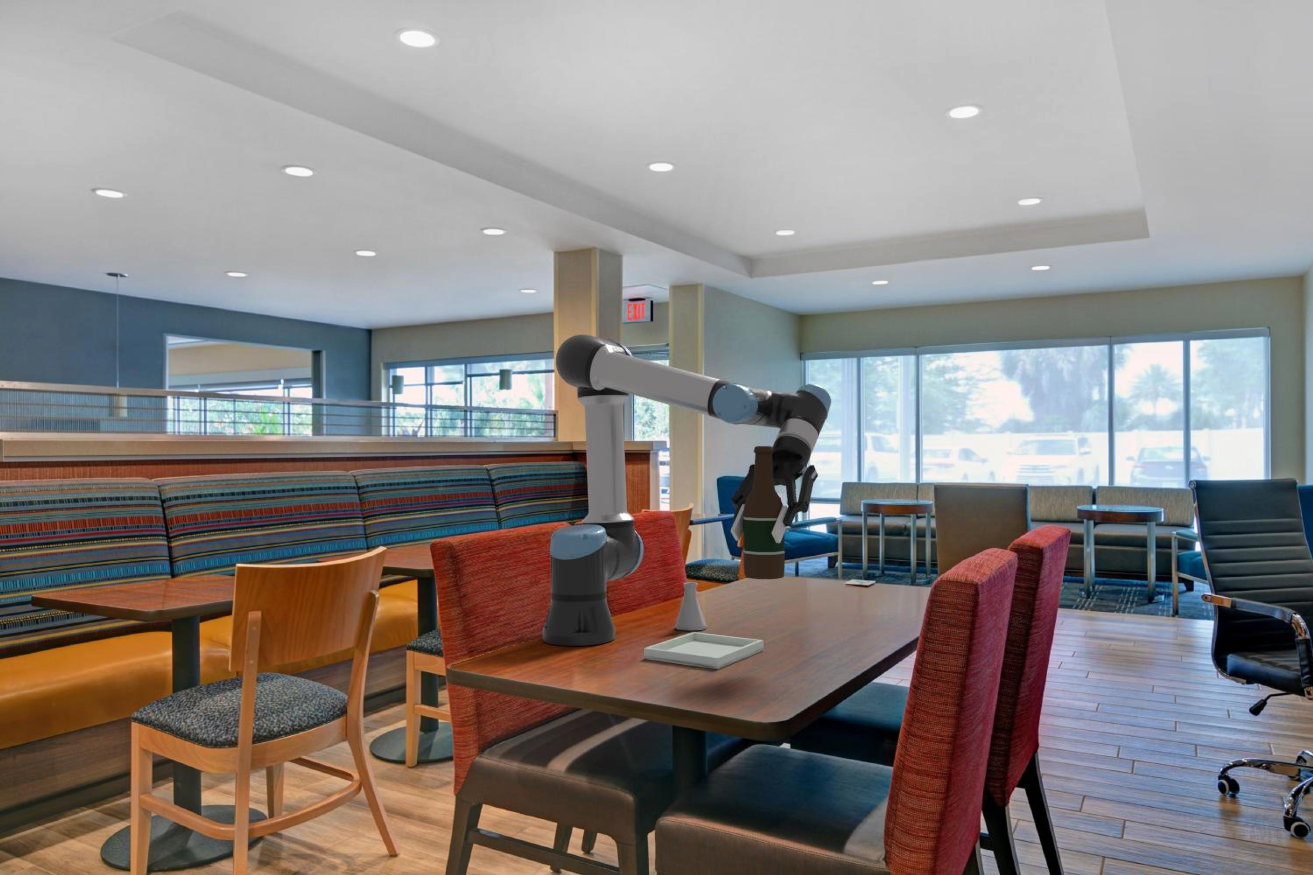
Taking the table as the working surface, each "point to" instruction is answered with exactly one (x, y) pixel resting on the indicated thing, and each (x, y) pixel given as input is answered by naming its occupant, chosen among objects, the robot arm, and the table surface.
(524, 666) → the table surface
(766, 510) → the beer bottle
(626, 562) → the robot arm
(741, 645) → the tray
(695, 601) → the flask
